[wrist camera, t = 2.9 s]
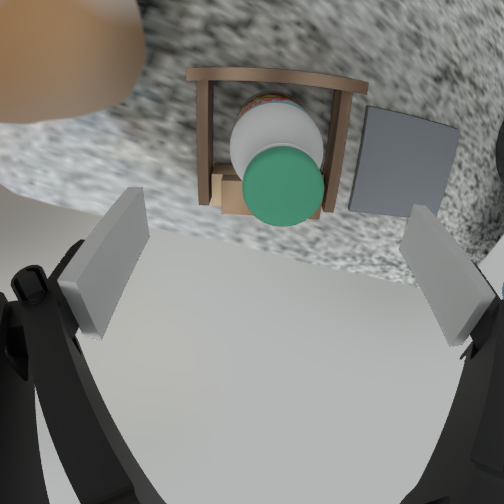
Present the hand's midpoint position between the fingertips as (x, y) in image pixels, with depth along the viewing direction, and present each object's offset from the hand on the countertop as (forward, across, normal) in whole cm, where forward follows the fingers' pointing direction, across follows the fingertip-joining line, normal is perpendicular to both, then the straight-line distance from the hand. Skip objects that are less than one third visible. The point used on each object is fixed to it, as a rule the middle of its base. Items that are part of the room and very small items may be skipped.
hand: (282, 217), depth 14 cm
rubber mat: (+23, -18, +4) cm, 29 cm away
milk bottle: (+23, 0, 0) cm, 23 cm away
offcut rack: (+23, 0, +2) cm, 23 cm away
